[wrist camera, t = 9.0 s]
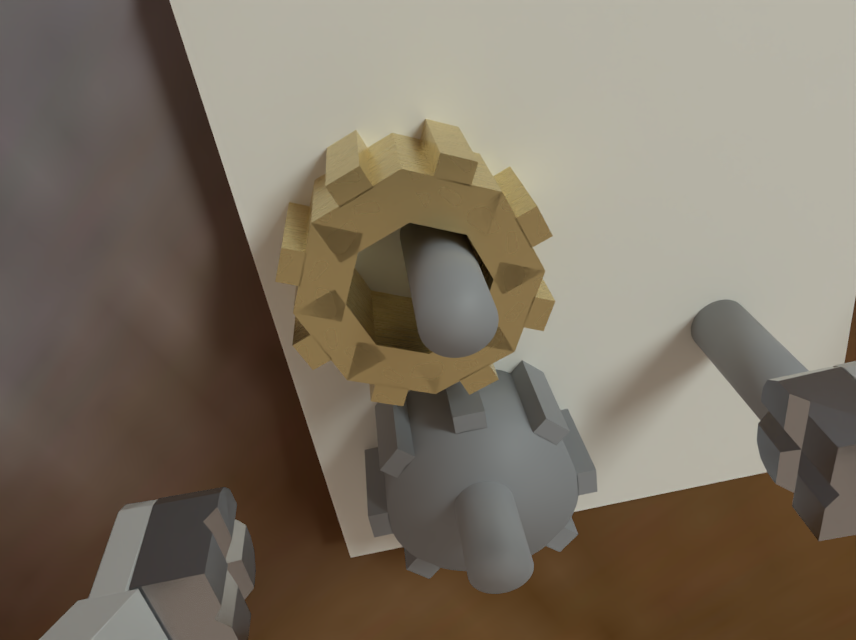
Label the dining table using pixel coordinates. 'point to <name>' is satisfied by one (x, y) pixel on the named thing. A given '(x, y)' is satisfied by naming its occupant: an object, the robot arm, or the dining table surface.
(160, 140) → the dining table surface
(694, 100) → the gear board
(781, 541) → the dining table surface
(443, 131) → the gear
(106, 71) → the dining table surface
